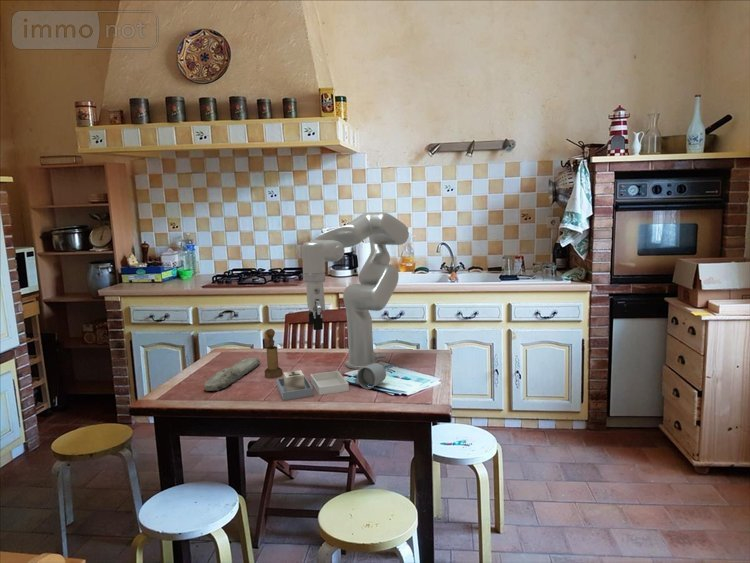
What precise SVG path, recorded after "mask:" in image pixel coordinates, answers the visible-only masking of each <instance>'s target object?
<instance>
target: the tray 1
mask: <svg viewBox="0 0 750 563" xmlns="http://www.w3.org/2000/svg"><path fill="white" fill-rule="evenodd" d="M275 379H276V387H277V389H278V392H279V394H280V396H281V398H282V401H289V400H296V399H303V398H309V397H314V394H315V392H314V386H313V385H311V384H312V383H311V381H309V380H308V378H307V376H306V375H305V374H304V382H305V389H302V390H295V391H288V392H286V391H285V388H284V377H282V378H281V377H278V378H275Z"/></svg>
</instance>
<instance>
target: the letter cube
mask: <svg viewBox="0 0 750 563" xmlns="http://www.w3.org/2000/svg"><path fill="white" fill-rule="evenodd" d="M282 374H283V378H284V388H285V391H286V392H288V391H295V390H302V389H305V382H304V375H305V374H304V373H303V371H302V370H301V369H300V370H292V371H286V372H283V371H282Z"/></svg>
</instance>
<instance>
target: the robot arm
mask: <svg viewBox="0 0 750 563" xmlns="http://www.w3.org/2000/svg"><path fill="white" fill-rule="evenodd" d="M409 237H410V232H409V228H408V227H407V225H406V224H404V223H403V222H402V221H401V220H399V219H398V218H396V217H395V216H393V215H392V214H390V213H388V212H381V211H380V212H372V211H371V212H364V213H362V214H360V215H359V216H357V217H356V218H354V219H353V220H351V221H349V222H348V223H346V224H344V225H341V226H339V227H335V228H332V229H330V230H328V231H324V232H322V233H320V234H318V235H317V236H315V237H313V238H312V239H311V240H310V241H307V242H303V244H302V246H301V254H302V255H301V256H302V257H301V258H302V259H301V260H302V280H303V281H302V282H303V283H304V284H306V304H307V309H308V324H309V325H312V330H313V331H319V330H320V331H321V330H324V323H323V322H324V320H323V314H322V313H323V312H325V311H326V304H325V302H326V301H325V290H324V289H325V288H324V284H323V283H325V282H326V268H325V266H326V264H325V262H327V263H328V262H329V263H334V262H338V261H340V260H341V259H343V257H344V255H345V251H346V250H345V249H347V248H351V247H354V246H357V245H359V244H360V243H361V242H363V241H364V240H366V239H367V238H368V239H369V245H370V254H369V256H368V257H367V259H366V260H365V263H364V264H363V266H362V268H361V269H360V271H359V273H358V278H357V279H358V281H359V283H353V284H349V285H348V286H346V288H345V289H344V290H343V293H342V294H343V295H342V298H343V303H344V307H345V314H346V324H347V341H348V342H347V346H348V359H347V360H345V363H344V364H345V367H347V368H348V369H354V370H360V369H361V368H362V367H365V366H368V365H370V364H373V363H378V364H379V361H378V360H379V359H385V358H386V357H387V356H386V353H385V352H382V353H381V352H380V351H379V352H375V351H374V345H373V344H374V338H373V321H372V320H373V319H372V315H371V313H370V312H369V311H372V312H373V311H374V312H378V311H379V312H380V311H382V310H384V308H385V307H386V306H387V304H388V303H389V301H390V300H391V298H392V295H393V293H394V291H395V289H396V287H397V285H398V283H399V271H398V268H397V267H396V266H394V265H393V264H390V262H391V255H390V252H389V251H388V248H387V245H388V246H389V245H390V246H401V245H404V244H405V243H407V241H408V240H409Z"/></svg>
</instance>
